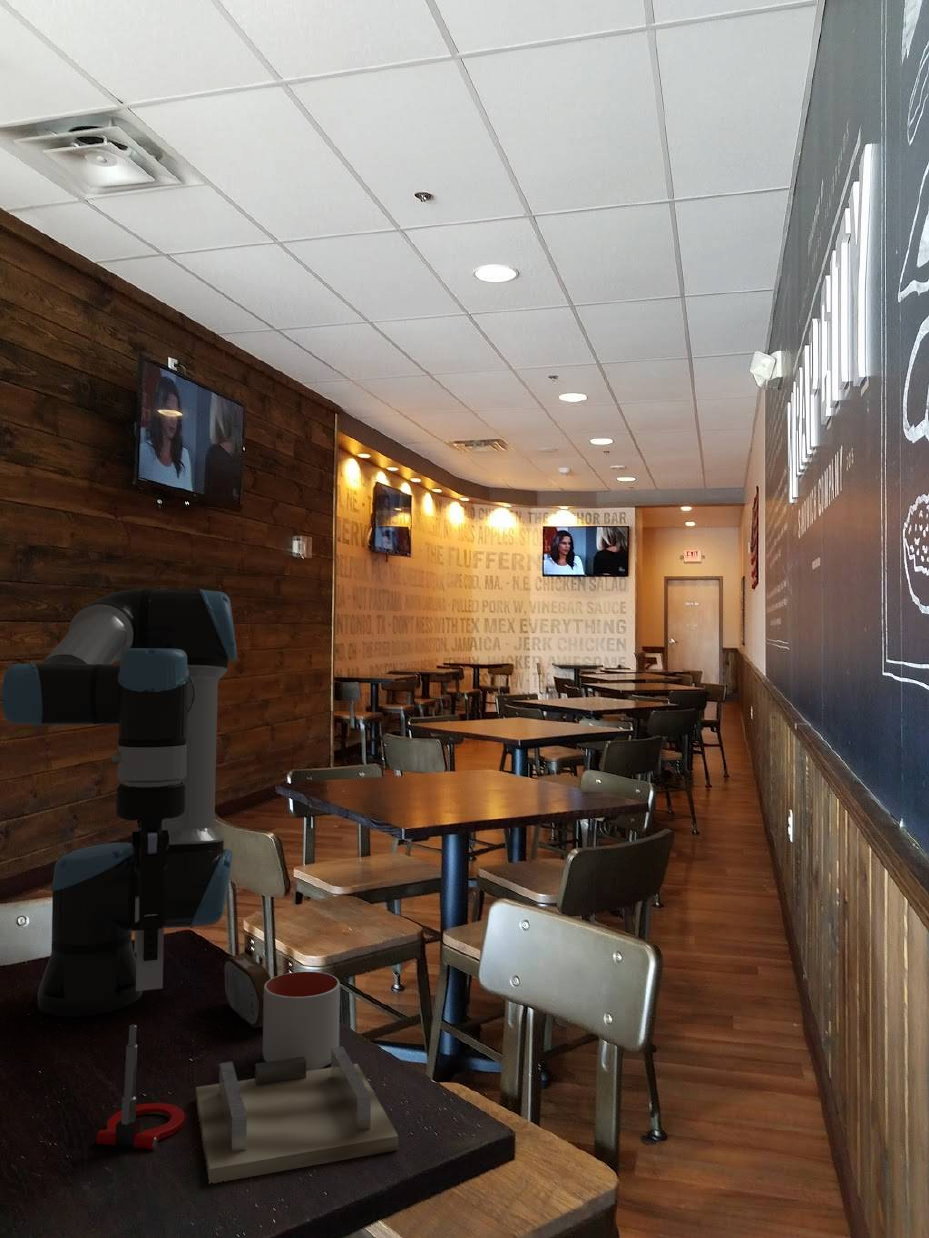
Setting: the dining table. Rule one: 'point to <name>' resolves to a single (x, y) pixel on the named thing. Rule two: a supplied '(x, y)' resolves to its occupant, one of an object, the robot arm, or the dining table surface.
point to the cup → (301, 1018)
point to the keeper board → (289, 1127)
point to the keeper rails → (288, 1070)
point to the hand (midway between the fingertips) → (147, 968)
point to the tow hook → (137, 1111)
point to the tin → (246, 987)
